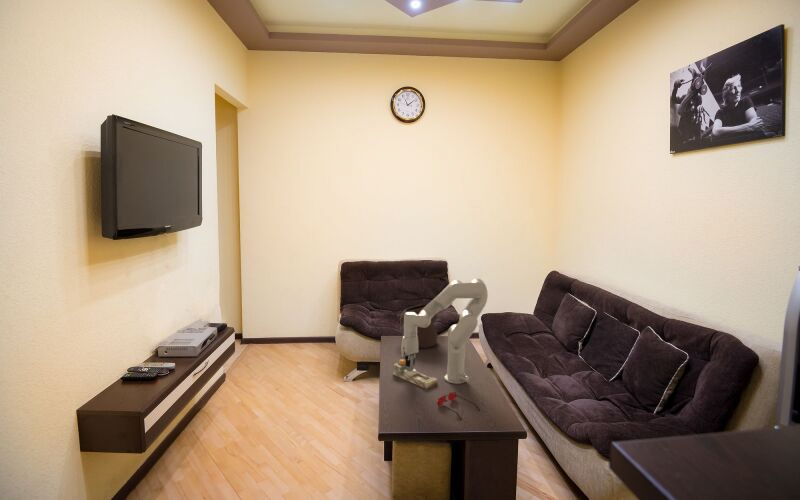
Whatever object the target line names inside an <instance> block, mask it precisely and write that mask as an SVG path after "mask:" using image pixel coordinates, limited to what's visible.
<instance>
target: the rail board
mask: <svg viewBox="0 0 800 500" xmlns="http://www.w3.org/2000/svg"><path fill="white" fill-rule="evenodd" d="M392 365H393V366H392V371H393V372H392V374H393V376H396V377H399V378H401V379H403V380H405V381H408V382H409V383H412V384H413V385H414V384H415V385H417V386H419V387H421V388H423V389H426V390H427V389H429V388H431V387H434V386H437V385H438V378H436V377H434V376H433V377H431V376H427V375H425V374H423V373H420V372H418V371H416V375H413V376H409V375H407V374H405V373H404V370H405V369H407V366H406V365H404V366H401V365H399V362H396V363H394V364H392Z"/></svg>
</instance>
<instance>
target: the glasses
mask: <svg viewBox="0 0 800 500" xmlns="http://www.w3.org/2000/svg"><path fill="white" fill-rule="evenodd" d="M457 397H458V398H460V399H461V400H463V401H466V402H468V403H470V404H471V405H474V406H475V408H476V409H477V410H478V411H479V412H481V410H480V408H479V406H477V404H475V403H473V402H471V401H469V400H468V399H466V398H464V397H461V396H459V395H457V392H456V391H453V392H449V393H448V394H445V395H443V396H442V397H439V398H438V400H437V401H436V404H437V406H438V407H441V406H443V407H444V408H446V409H448V410H450V411H451V412H454V413H455V414H456V415H457V416H458V418H459V420H460V421H463V419H462V418H461V416H460V415H459V413H458V412H456V411H455V410H454V409H451V408H449V407H447V406H445V405H444V403H447V402H448V400H449V401H451V402H453V401H454V400H455V399H456V398H457ZM447 398H448V399H447Z"/></svg>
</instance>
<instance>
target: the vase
mask: <svg viewBox="0 0 800 500" xmlns="http://www.w3.org/2000/svg"><path fill="white" fill-rule="evenodd" d="M427 304H428V303H423V304H418V305H413V306H410V307H408V308H405V309H404V310H403V312H402V313H401V315H400V317H399V321H400V323H401V324H402V325H404V314H405V313H407V312H414V313H416V314H417V315H418V314H419V313H420V311H421V310H422V309H423V308H424V307H425V306H426V305H427ZM438 313H439V312H438ZM438 313H436V314H435V315H434V316H433V317H432V318H431V323H430V325H429V326H428V327H425V328H422V327H417V331H418V332H417V336H418V349H428V348H431V347H435V345H437V342H438V333H437V331H436V329H435V327H434V323H435V321H436V319H437V317H438Z"/></svg>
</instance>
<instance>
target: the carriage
mask: <svg viewBox="0 0 800 500" xmlns="http://www.w3.org/2000/svg"><path fill="white" fill-rule="evenodd" d="M407 357H408V356H407ZM409 360H410V367H408V366H407V369H405V370H404V373H405V374H407V375H409V376H413V375H416V372H417V369H415V368H414V365H413V360H414V355H412V354H410V359H409Z"/></svg>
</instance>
